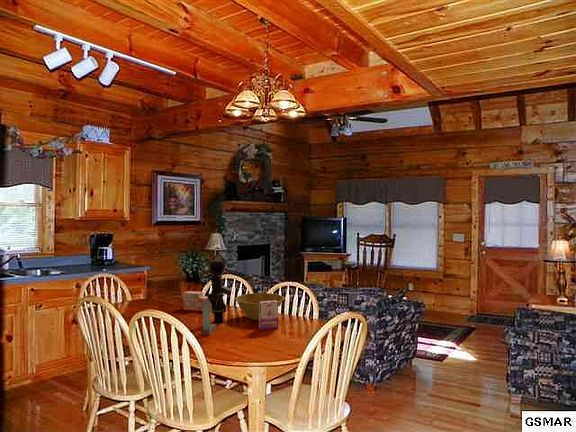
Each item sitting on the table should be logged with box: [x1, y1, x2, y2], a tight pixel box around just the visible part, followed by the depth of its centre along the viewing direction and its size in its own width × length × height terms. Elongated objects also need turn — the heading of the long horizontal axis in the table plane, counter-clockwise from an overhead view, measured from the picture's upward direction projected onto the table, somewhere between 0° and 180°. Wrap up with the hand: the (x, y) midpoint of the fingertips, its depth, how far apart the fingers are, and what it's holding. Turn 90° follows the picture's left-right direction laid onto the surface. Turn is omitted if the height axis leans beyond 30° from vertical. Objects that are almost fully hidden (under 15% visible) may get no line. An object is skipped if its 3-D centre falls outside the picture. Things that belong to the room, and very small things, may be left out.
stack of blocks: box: [182, 290, 212, 312], centre depth 324 cm, size 21×6×12 cm, turn 72°
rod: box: [202, 306, 211, 330], centre depth 263 cm, size 4×4×13 cm
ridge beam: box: [200, 323, 218, 337], centre depth 268 cm, size 14×5×3 cm, turn 172°
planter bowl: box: [234, 292, 285, 321], centre depth 301 cm, size 32×32×13 cm
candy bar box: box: [258, 300, 279, 331], centre depth 276 cm, size 11×5×16 cm, turn 105°
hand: (216, 307), depth 273 cm, fingers open, 9 cm apart
